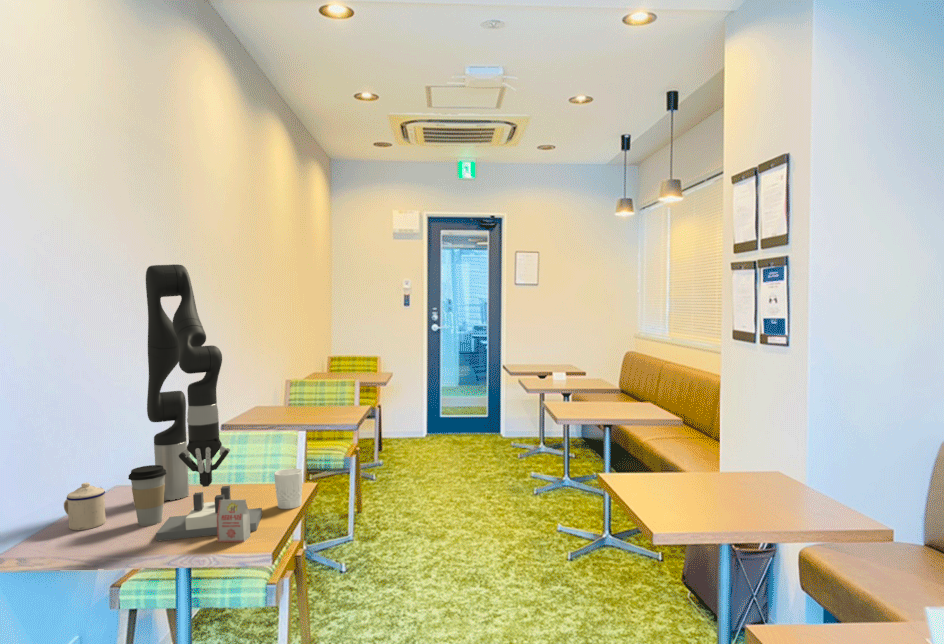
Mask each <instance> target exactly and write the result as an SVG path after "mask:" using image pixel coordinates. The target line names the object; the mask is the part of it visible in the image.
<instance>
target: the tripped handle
mask: <svg viewBox="0 0 944 644" xmlns="http://www.w3.org/2000/svg"><path fill="white" fill-rule="evenodd" d="M192 500H193V508H194V510H202V509H203V508H204V503H205V502H204V492H203V491H201V492H194V493H193V495H192Z"/></svg>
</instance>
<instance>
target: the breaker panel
mask: <svg viewBox="0 0 944 644" xmlns="http://www.w3.org/2000/svg"><path fill="white" fill-rule="evenodd" d="M231 497H232V496H231V485H224V486H221V487H220V494H216V495H215V497H214V501H207V502H204V508H203V509H202V510H194V507H193V508H192V509H191V510H190V512H189V513H188V514H187V515H186V514H185V515H176V516H169V517H168V518H167V519H166V521H164V523H163V524H162V525H161V527H159V529H158V530H157V531H156V533H155V539H156V542H160V541H159V540H163V541H170V539H172V540H180V539H179V538H182V539H191V538H200V537H209V536H216V535H217V514H218V507H219V500H232V498H231ZM248 510H249V514H250V532H256V531H257V529H258V527H259V524H260V522H261V519H262V517H263V507H258V508H257V507H256V508H248Z"/></svg>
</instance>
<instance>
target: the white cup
mask: <svg viewBox="0 0 944 644" xmlns="http://www.w3.org/2000/svg"><path fill="white" fill-rule="evenodd" d="M273 478H274V485H275V486H274V487H275V494H276V495H275V496H276V500H277V508H278V509H281V510H290V509H291V510H292V509H297V508H299V507H300V506H301V505H302V503H303V502H302V496H303V469H301V468H284V469H279V470H277V471H275V472H274V477H273Z"/></svg>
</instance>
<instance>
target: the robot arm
mask: <svg viewBox="0 0 944 644" xmlns="http://www.w3.org/2000/svg"><path fill="white" fill-rule="evenodd" d="M145 290H146V304H147V317H148V318H147V319H148V320H147V362H148V364H147V367H148V383H147V384H148V385H147V399H146V413H147V418H148V420H149V421H150V422H151V423H162V422H163V423H164V422H173V421H174V422H173V423H172V425H171V426H169V427H168V428H166V429H165V430H162V431H160V432H157V433H156V434H155V435H154V437H153V447H154V448H153V449H154V465H161V466H163V468H164V469H165V470H166V473H167V474H166V475H165V481H164V483H165V490H164V500H165V501H164V502H166V500H170V501H176V500H175V499H177V500H179V499H180V498H181V499H184V498H186V497H188V496H189V495H190V488H189V487H190V486H189V470H191V472H196V473H198V474H199V485H200V486H201V485H202V486H201V487H202V488H205V487H207V488H208V487H210V485H211V484H212V482H213V471H215V470H218V468H219V467H220V466H221V464H222V462H223V461H224V460H225V459H226V457H228V455H229V453H230V451H231V449H230V448H226V446H225V447H224V446H223V445H222V442H221V440H220V424H219V422H220V421H219V409H218V408H219V407H218V400H217V386H218V380H219V376H220V375H219V374H220V373H221V372H220V371H221V369H222V364H223V354H222V352H221V350H220V348H219V347H218V346H217V345H204V344H205V343H206V342H207V334H206V332H205V329H204V327H203V324H202V322H201V319H200V317H199V314H198V310H197V304H196V300H195V295H194V290H193V286H192V282H191V277H190V275H189V272H188V270H187V268H186V267H185V266H184V265H183V264H155V265H149V266H147V269H146V272H145ZM179 296H180V297H181V300H180V303H179V305H178V306H177V308H176V311H175V312H174V315H173V318H172V320H171V318H169V316H168V315H167V313H166V312H165V311H164V308H163V305H162V302H161V298H168V297H179ZM177 365H178V366H179V368H180V369H181V371H183V373H185V374H188V375H190V374H191V375H192V374H202V373H205V375H204V376H203V378H202V379H200V380H197V381H194V382H191V383H190V384H188V386H187V400H186V395H185V393H184V391H182V390H172V391H161V390H162V387H163V384H164V383H165V381H166V379H167V378H168V377H169V375H170V374H171V372H172V371H173V370H174V369H175V368H176V367H177ZM186 401H187V402H186ZM186 410H187V411H186ZM186 413H187V414H186ZM186 423H187V424H186ZM187 433H188V434H187ZM187 435H188V437H187ZM187 438H188V442H187ZM218 452H219V453H218ZM217 453H218V454H219V458H218V459H217V460H216V462H215V463H213V459H214V458H215V456H216V455H217ZM191 456H192V457H193V458H194V459H195V460H196V462H195V461H194V460H193V459H192V458H191Z"/></svg>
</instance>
